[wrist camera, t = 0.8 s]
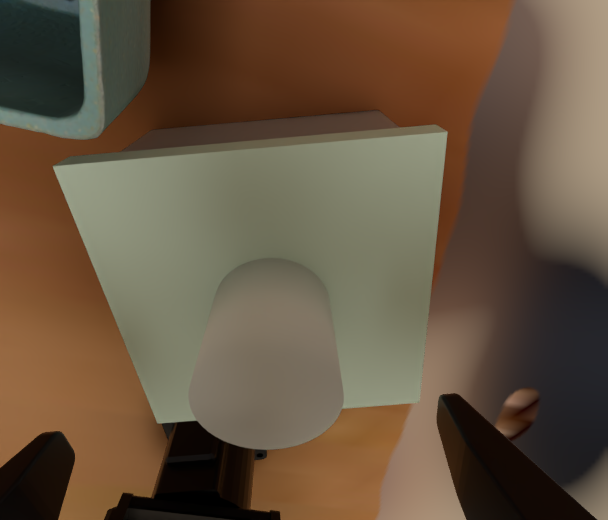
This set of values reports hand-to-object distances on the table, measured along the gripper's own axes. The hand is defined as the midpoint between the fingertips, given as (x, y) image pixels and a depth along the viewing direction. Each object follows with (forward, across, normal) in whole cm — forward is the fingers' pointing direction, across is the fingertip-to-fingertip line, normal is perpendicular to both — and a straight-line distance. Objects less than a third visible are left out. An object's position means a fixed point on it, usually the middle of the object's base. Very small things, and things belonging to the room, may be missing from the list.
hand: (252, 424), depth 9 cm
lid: (+6, 0, 0) cm, 6 cm away
